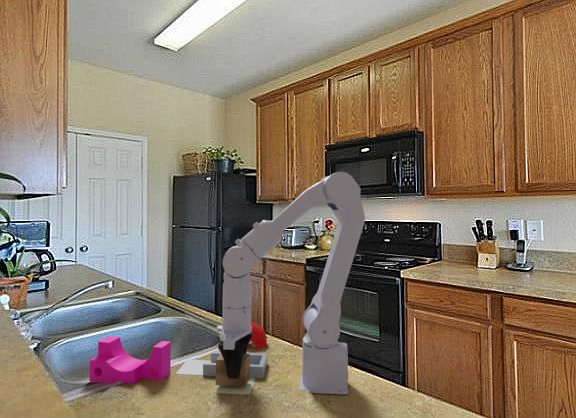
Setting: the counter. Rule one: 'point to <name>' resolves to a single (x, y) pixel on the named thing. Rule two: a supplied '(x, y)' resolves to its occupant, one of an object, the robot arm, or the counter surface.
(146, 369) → the magenta cradle bracket
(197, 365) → the trough deck
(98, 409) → the counter surface
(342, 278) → the robot arm
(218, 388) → the sage coaster
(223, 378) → the walnut block
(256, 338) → the red rounded piece
